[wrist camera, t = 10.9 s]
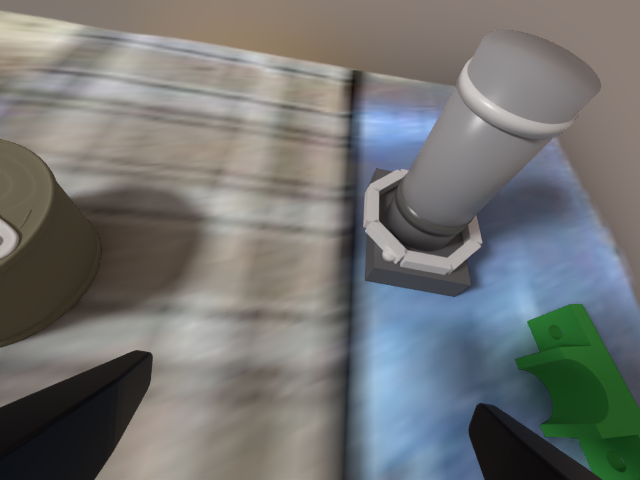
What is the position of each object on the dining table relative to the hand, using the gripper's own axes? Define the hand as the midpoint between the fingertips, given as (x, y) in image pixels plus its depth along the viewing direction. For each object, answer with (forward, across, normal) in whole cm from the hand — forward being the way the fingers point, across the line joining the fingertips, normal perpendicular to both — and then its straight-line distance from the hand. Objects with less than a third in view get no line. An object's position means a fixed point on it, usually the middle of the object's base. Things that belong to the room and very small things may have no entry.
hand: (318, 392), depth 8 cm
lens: (+19, -9, -3) cm, 21 cm away
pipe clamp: (+13, -20, +7) cm, 25 cm away
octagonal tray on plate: (+21, -9, -2) cm, 23 cm away
